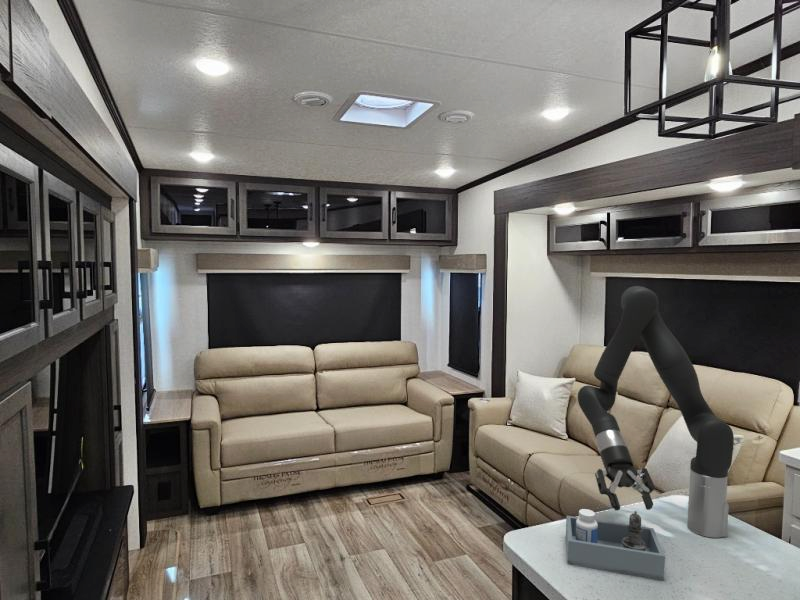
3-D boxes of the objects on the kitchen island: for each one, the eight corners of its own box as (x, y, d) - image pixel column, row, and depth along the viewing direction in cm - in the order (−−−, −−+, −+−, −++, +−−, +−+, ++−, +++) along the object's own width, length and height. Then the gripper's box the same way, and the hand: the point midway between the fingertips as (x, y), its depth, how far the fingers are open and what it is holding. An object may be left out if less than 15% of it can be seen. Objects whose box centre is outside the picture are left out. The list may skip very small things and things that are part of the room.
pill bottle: (593, 543, 136) (595, 508, 135) (599, 554, 130) (601, 517, 130) (572, 542, 136) (574, 507, 136) (578, 553, 131) (579, 516, 130)
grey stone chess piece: (644, 552, 132) (646, 507, 131) (647, 564, 126) (650, 518, 126) (619, 548, 134) (622, 503, 133) (622, 560, 128) (624, 514, 127)
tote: (652, 550, 135) (653, 528, 135) (663, 580, 122) (665, 556, 121) (565, 536, 141) (566, 515, 141) (567, 563, 128) (568, 540, 127)
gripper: (593, 444, 139) (612, 504, 128) (643, 443, 139) (666, 503, 129) (584, 456, 144) (602, 515, 133) (632, 455, 145) (654, 513, 134)
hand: (633, 509), depth 131 cm, fingers open, 8 cm apart
